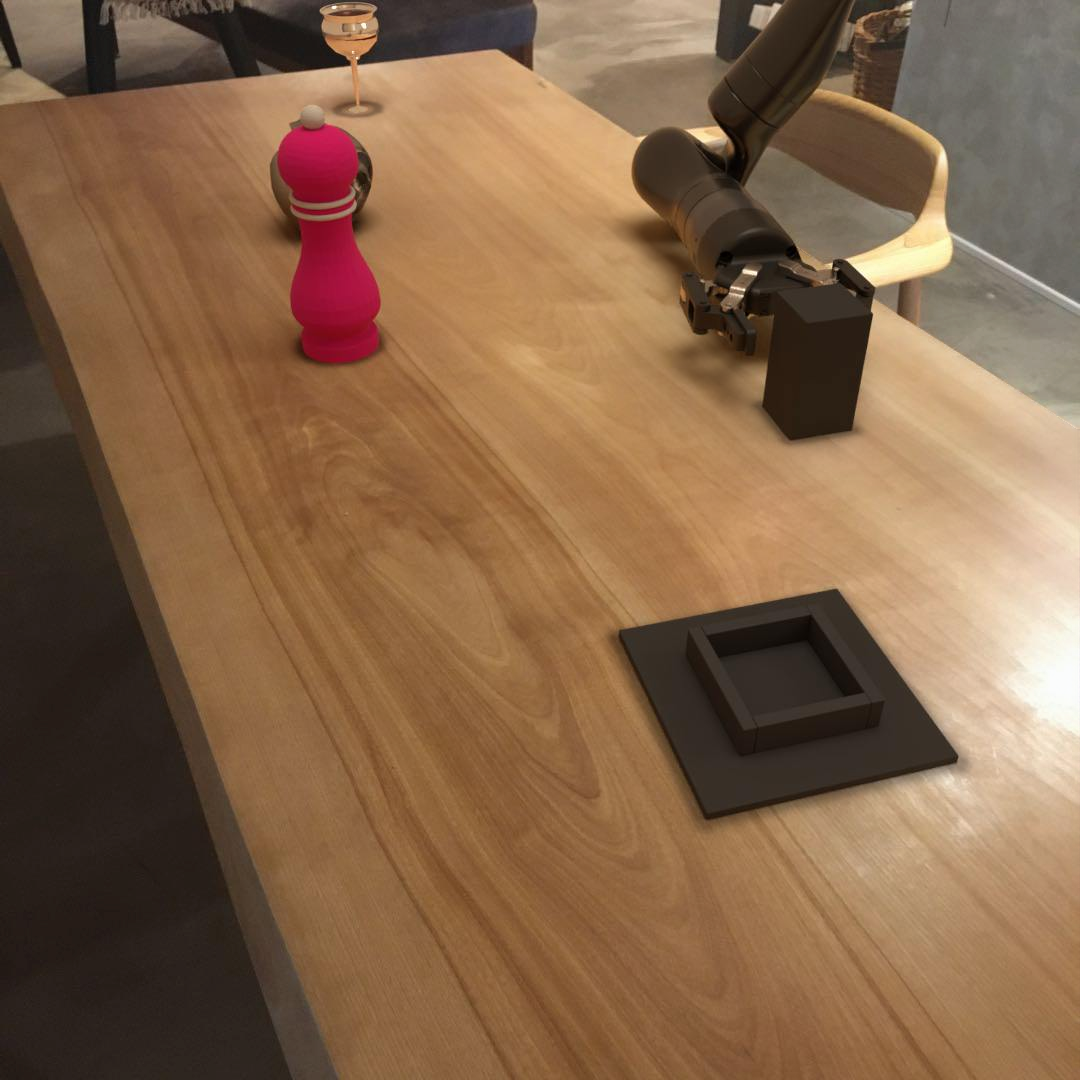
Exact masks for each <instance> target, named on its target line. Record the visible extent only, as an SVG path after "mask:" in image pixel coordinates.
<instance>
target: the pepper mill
mask: <svg viewBox="0 0 1080 1080" xmlns="http://www.w3.org/2000/svg"><path fill="white" fill-rule="evenodd" d="M299 114H300V116H299V119H301V122H302V124H303V125H302V126H299V127H297V128H295V129H293V130H292V131H291V130H290V131H289V132H288V133H287V134H286V135H285V136H284V137H283V138H282V140H281V142H280V144H279V146H278V150H277V151H278V155H277V163H278V170H279V174H280V176H281V178H282V179H283V181H284V182H285V183H286V184H287V185H288V186H289V187H290V188H291V189H292V191H291V192H290V194H289V199H290V201H291V208H290V209H291V212H292V213H293V214H294V215H295V216H296V217H298V221H299V225H300V229H301V231H300V239H301V249H300V256H299V259H298V263H297V266H296V269H295V272H294V274H293V278H292V280H291V281H292V282H291V286H290V293H289V299H290V300H289V301H290V311H291V314H292V316H293V318H294V319H295V321H296V322H297V323H298V324H299V325H300V326H301V327H303V329H302V331H301V333H300V338H301V344H302V345H301V346H302V350H303V352H304V354H305V355H306V356H307V357H309V358H311V359H312V360H314V361H318V362H322V363H328V364H340V363H341V364H342V363H343V364H345V363H350V362H354V361H358V360H361V359H364V358H367V357H368V356H370V355H372V353H374V352H375V351H376V350H377V349H378V347H379V346H380V338H379V329H378V325H377V323H376V322H375V321H374V320H375V319H376V317H377V316H378V314H379V312H380V310H381V304H382V299H381V294H380V288H379V285H378V283H377V280H376V277H375V275H374V273H373V271H372V269H371V268H370V266H369V265H368V263H367V262H366V260H365V257H364V256H363V254H362V253H361V251H360V249H359V247H358V245H357V242H356V238H355V236H354V230H353V221H352V212H353V211H354V210H355V209H356V206H357V203H356V200H355V198H354V197H355V190H354V188H353V187H352V186H350V185H351V183H352V182H353V180H354V179H355V177H356V175H357V173H358V169H359V160H358V154H357V151H356V148H355V145H354V143H353V142H352V140H351V139H350V137H349V136H348V135H347V134H346V133H345V132H343V131H342V130H340V129H339V128H337V127H338V126H337V127H334V126H335V125H333V126H332V124H327V123H326V124H324V123H325V122H326V121H325V120H326V116H325V113H324V110H323V109H322V108H321V107H320V106H319V105H316V104H307V105H305V106H304V107H303V108H302V109H301V111H300V113H299Z"/></svg>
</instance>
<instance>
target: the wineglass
mask: <svg viewBox="0 0 1080 1080" xmlns="http://www.w3.org/2000/svg"><path fill="white" fill-rule="evenodd" d="M377 10H378V7H377V6H376V5H374V4H372V3H367V2H357V1H347V2H337V3H332V4H328V5H325V6H323V7H321V8H320V9H319V13H320V15H321V16H322V18H323V19H322V22H321V27H320V29H321V34H322V37H323V40H324V41H325V43H326V44H327V45H328V47H330V48H331V49H332V50H333V51H334V52H335V53H337V54H339V55H342V56H344V57H345V58H346V59H347V60H348V61H349V63H350V69H351V75H352V77H351V78H352V83H353V89H354V96H355V104H356V106H353V107H350V108H349V109H348V112H350V113H355V114H356V113H364V112H367V111H368V110H369V107H367V106H362V105H360V89H359V88H360V87H359V73H358V71H359V70H358V60H360V58H361V56H362V55H364V54H366V53H368V52H369V51H370V50H371V49H372V48H373V46H374V45H375V43H377V42H378V38H379V35H380V23H379V20H378V19H377V18H376V15H375V14H376V12H377Z"/></svg>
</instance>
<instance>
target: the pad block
mask: <svg viewBox="0 0 1080 1080" xmlns="http://www.w3.org/2000/svg"><path fill="white" fill-rule="evenodd" d="M873 318H874V313H873V312H872V310H871V311H870V310H869V309H868V308H867V307H866V306H865V305H863V304H862V303H861V302H860V301H859V300H858V299H857V298H856V297H855V296H854V295H853V294H852V293H851V292H850V291H848V290H847V289H846V288H845V287H844V286H843V285H842V284H841V283H837V284H829V285H822V286H815V287H807V288H800V289H792V290H785V291H778V292H777V294H776V302H775V310H774V315H773V318H772V326H771V335H770V342H769V350H768V358H767V366H766V374H765V382H764V389H763V396H762V398H763V399H762V408H763V409H764V411H765V413H767V415H768V416H769V417H770V418H771V420H772V421H773V422H774V423H775V424H776V426H777V427H778V428H779V429H780V431H781V432H782V433H783V434H784V436H785V437H786V439H788V441H789V442H790V441H797V440H804V439H810V438H817V437H822V436H828V435H829V436H830V435H834V434H841V433H847V432H851V431H853V426H854V420H855V415H856V411H857V405H858V399H859V393H860V389H861V384H862V383H861V382H862V377H863V372H864V367H865V361H866V356H867V350H868V345H869V340H870V336H871V335H870V334H871V329H872V323H873Z"/></svg>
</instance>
